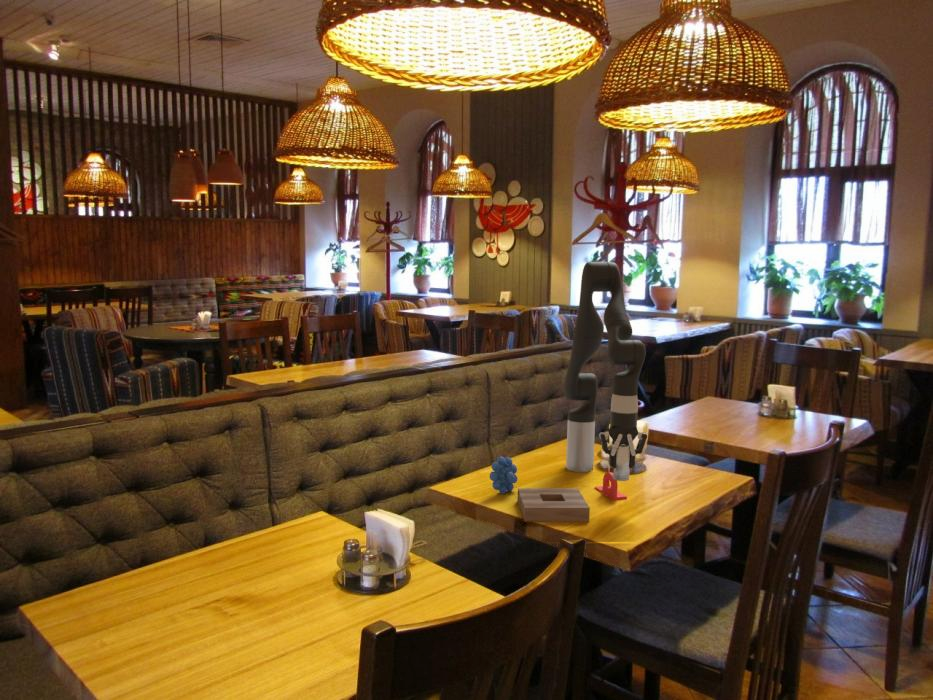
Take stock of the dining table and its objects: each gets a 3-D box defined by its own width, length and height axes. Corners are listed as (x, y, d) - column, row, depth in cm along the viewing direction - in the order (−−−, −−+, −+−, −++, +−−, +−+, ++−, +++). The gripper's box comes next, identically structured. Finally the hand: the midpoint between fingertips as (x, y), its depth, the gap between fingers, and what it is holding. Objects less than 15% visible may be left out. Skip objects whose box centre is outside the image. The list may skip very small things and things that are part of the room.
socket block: (517, 501, 231) (517, 488, 231) (577, 501, 232) (577, 488, 231) (524, 521, 213) (524, 507, 213) (589, 521, 214) (589, 507, 213)
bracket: (626, 500, 234) (627, 474, 233) (613, 501, 233) (614, 475, 232) (607, 489, 246) (608, 464, 245) (594, 490, 244) (595, 465, 243)
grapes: (500, 501, 231) (500, 461, 230) (484, 495, 236) (485, 457, 235) (526, 493, 239) (527, 455, 238) (510, 488, 244) (511, 451, 243)
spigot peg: (611, 476, 226) (613, 443, 224) (626, 476, 226) (628, 443, 224) (615, 481, 221) (616, 447, 220) (630, 481, 221) (632, 447, 220)
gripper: (645, 407, 225) (642, 464, 227) (596, 406, 224) (594, 464, 226) (652, 412, 217) (649, 471, 220) (602, 412, 217) (599, 471, 219)
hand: (621, 467), depth 223 cm, fingers closed on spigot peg, 4 cm apart
